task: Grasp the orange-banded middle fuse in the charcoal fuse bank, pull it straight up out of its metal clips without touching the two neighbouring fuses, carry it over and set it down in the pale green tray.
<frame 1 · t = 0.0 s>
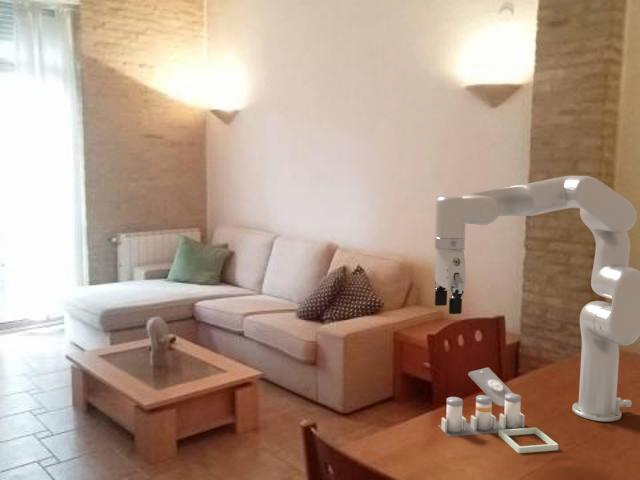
hand: (447, 309, 164), 31 cm above the table, fingers open, 9 cm apart
tray: (527, 446, 155), on the table
fuse bank: (482, 432, 163), on the table
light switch: (493, 401, 186), on the table
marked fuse: (482, 427, 163), point 1 cm above the table, touching fuse bank
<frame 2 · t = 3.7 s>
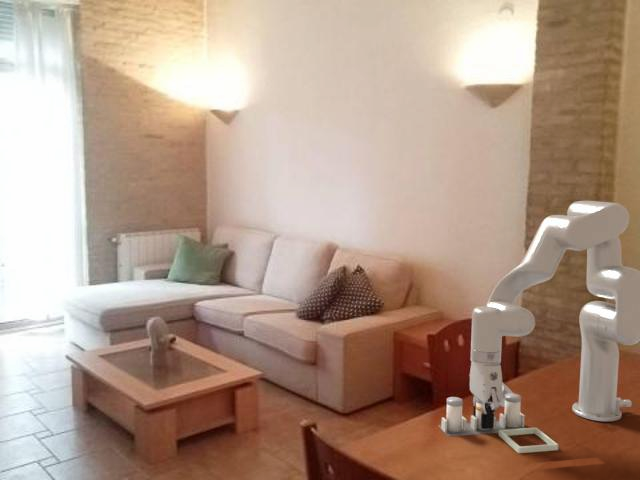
hand: (483, 423, 163), 2 cm above the table, fingers closed on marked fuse, 3 cm apart
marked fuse: (482, 427, 163), point 1 cm above the table, touching fuse bank, gripper
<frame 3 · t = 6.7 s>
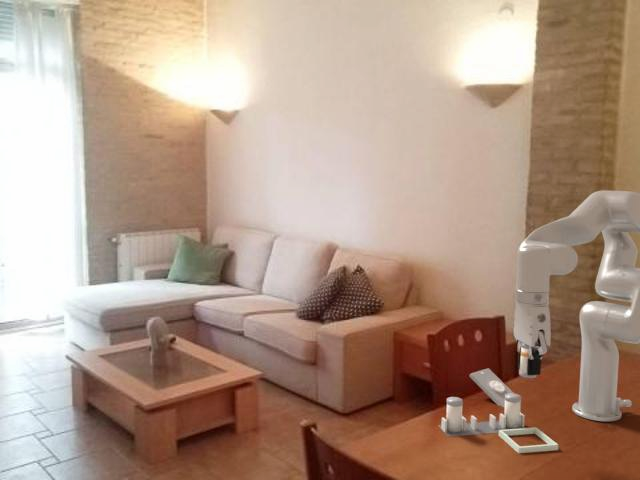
hand: (528, 370, 153), 19 cm above the table, fingers closed on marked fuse, 3 cm apart
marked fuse: (527, 375, 153), point 18 cm above the table, touching gripper
when the fingers open (3 cm above the table, at t = 10.0 s): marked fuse drops 1 cm, resting on tray.
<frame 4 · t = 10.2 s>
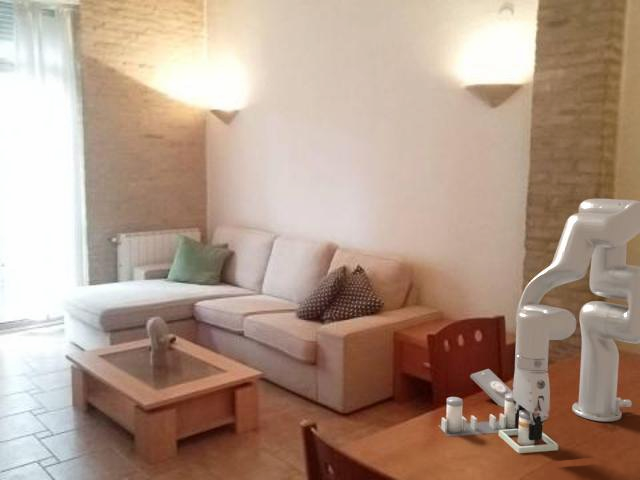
hand: (527, 433, 154), 4 cm above the table, fingers open, 6 cm apart
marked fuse: (525, 444, 155), point 1 cm above the table, touching tray
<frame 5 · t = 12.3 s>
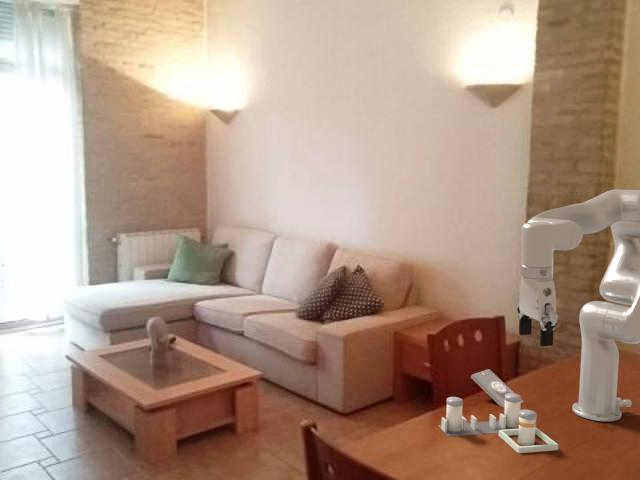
hand: (535, 339, 157), 25 cm above the table, fingers open, 9 cm apart
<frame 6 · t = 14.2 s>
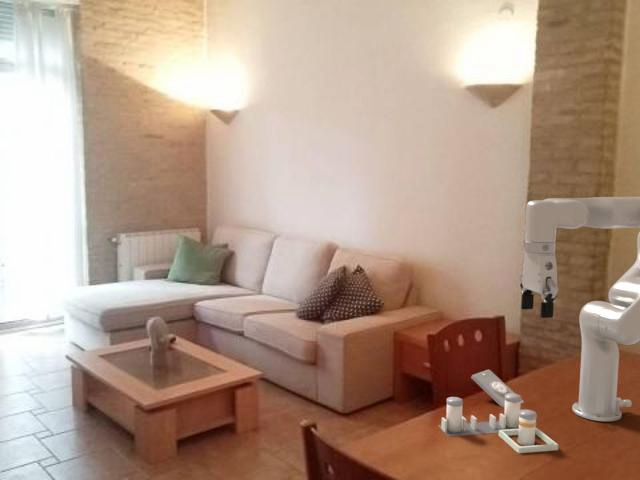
hand: (536, 313, 165), 30 cm above the table, fingers open, 9 cm apart
at the end: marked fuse inside the target area on the tray (0.4 cm from its centre), point 0.6 cm above the tray's base; the gripper is holding nothing; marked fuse touching tray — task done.
